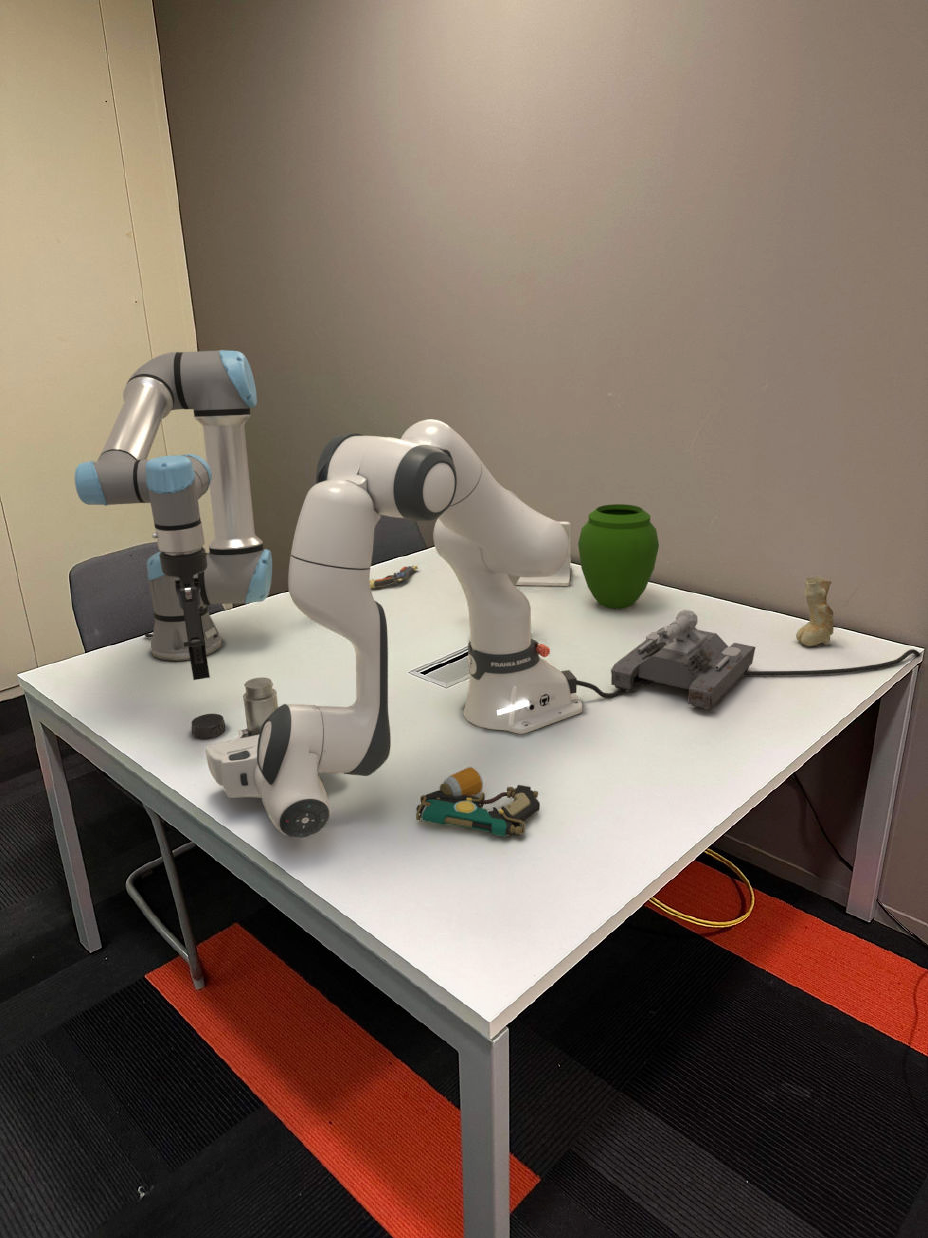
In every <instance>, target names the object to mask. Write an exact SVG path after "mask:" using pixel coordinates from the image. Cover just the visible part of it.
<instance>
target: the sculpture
mask: <svg viewBox="0 0 928 1238" xmlns="http://www.w3.org/2000/svg"><path fill="white" fill-rule="evenodd" d="M804 583H805V587H804V588H805V589H804V594H803V595H804V596H803V597H805V598H806V603H807V607H808V612H809V621H808V622H807V623H806V624H805V625H803V626H802V627H801V628H799V629H798V630H797V632H796V634H795V638H796V641H798V642H799V643H801V644H802V645H804V646H806V647H814V646H817V645H819V644H823V645H825V646H826V645H829V644H830V642H831V636H832V635H834V631H835V630H834V618H833V617H834V611H833V609H832V607H830V605H829V604H828V602H827V597H828V594H829V590H830V587H831V584H832V581H831V580H828V579H826V578H825V577H821V576H815V577H808V578H805V579H804Z"/></svg>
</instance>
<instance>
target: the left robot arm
mask: <svg viewBox="0 0 928 1238" xmlns="http://www.w3.org/2000/svg"><path fill="white" fill-rule="evenodd" d="M122 397H123V404H122V406H121V409H120V411H119V413H118V415H117V417H116V419H115V422H114V424H113V425H112V428H111V431H110V433H109V435H108V437H107V438H106V442H105V443H104V446H103V448H102V451H101V452H100V455H99V457H98V459H97V460H96V461H94V460H90V461H85V462H81V463H78V465H77V467H76V468H75V472H74V487H75V490H76V493H77V496H78V498H79V499H80V501H81V502H82V503H83V504H84V505H89V506H106V507H107V506H111V505H112V506H113V505H129V504H132V505H133V504H150V508H151V513H152V514H151V515H152V519H153V525H154V528H155V532H153V533H152V535H151V537H152V538H153V539H155V540H156V539H157V540H156V543H157V549H158V550H159V551H158V552H156V553H154V554H153V555H151V556H149V558H148V559H147V561H146V572H147V578H146V579H147V581H148V586H149V591H150V598H151V603H152V609H153V615H154V626H153V631H152V633H145V634H144V637H145V638H150V639H151V642H150V650H151V654H152V656H153V657H154V658H156V659H158V660H162V661H169V662H181V661H190V666H191V667H190V668H191V673H192V679H193V681H197V680H204V679H211V676H210V675H211V674H210V669H209V663H208V655H211V654H213V653H215V652H216V651H218V650H219V649H220V648H221V646H222V638H221V637H222V636H221V634H220V632H219V630H218V628H217V626H216V624H215V622H214V621H213V619H212V616H211V615H210V612H209V606H213V605H230V604H231V605H233V604H234V605H235V604H245V605H248V604H252V603H261V602H264V601H265V600H266V599H267V598H268V596H269V594H270V590H271V585H272V576H273V557H272V551H271V550H269V549H268V548H264V542H263V540H262V539H261V538H260V537H258V536H257V535H256V532H255V531H256V529H255V521H254V511H253V501H252V492H251V479H250V471H249V470H250V469H249V459H248V448H247V440H246V430H245V429H246V427H245V424H246V422H247V421H248V420H249V419H250V418H251V409H253V408H256V406H257V404H258V399H257V397H258V396H257V389H256V383H255V379H254V375H253V372H252V368H251V365H250V363H249V361H248V359H247V357H246V355H245V354H244V353H243V352H241V351H238V350H224V349H220V350H199V351H198V350H197V351H171V352H166V353H162V354H159V355H158V356H155V357H153V358H152V359H150V360H148V361H146V362H145V363H144V364H142V365H141V366H140V367H139V368H138V369H136V370H135V371H134V372H133V373H132V375H131V376H130V377H129V378H128V380H127V382H126V384H125V386H124V388H123V394H122ZM176 410H193V417H194V420H196V421H197V422H198V423H199V424H200V425H201V426H202V432H203V440H204V451H205V459H206V460H205V459H204V458H203V457H201V456H199V455H197V454H193V453H185V454H180V455H175V454H174V455H173V454H172V455H164V456H156V457H153V458H150V459H148V457H149V454H150V451H151V449H152V446H153V443H154V441H155V438H156V436H157V433H158V430H159V428H160V425H161V423H162V420H163V419H165V418H166V417H168V415H169V414H170V413H171V411H176ZM208 490H209V496H210V504H211V513H212V522H213V523H212V524H213V532H214V538H213V539H212V540H211V541H210V543H209V544H208V551H209V552H206V548H204V545H205V543H206V542H205V535H204V529H203V523H202V521H201V513H200V507H199V500H200V499H201V498H202V497H203V496H204V495H205V494H206V493H207V492H208Z"/></svg>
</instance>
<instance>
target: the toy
mask: <svg viewBox="0 0 928 1238" xmlns="http://www.w3.org/2000/svg"><path fill="white" fill-rule="evenodd" d="M697 625H698V616H697V614H696V613H695V612H694V611H693V610H690V609H683V610H681V611H679V612H678V613H677V615H676V617H675V620H673V622H671V623H670V624H669V625H668V626H666V628H665V627H661V628H660V629H658V630H657V631H652V632H650V633H649V634H648V635H647V636H645V640H643V641H642V642H641V643H640V644H638V645H637V646H636V647H635V648H633V649H632V650H631V651H630V652H628V653H627V654H625V655H624V656H623V657H621V658H620V659H619V660H618V661H617V662H615V663H614V664H613V666H612V667H611V669H610V674H611V677H610V678H611V680H610V681H611V682H610V683H611V684H610V685H611V686H614V688H615V689H618V690H620V689H624V690H626V692H630V693H634V692H635V691H637V690H638V689H640V687H641V686H642V685H641V683H642V681H643V680H649V681H654V683H658V684H663V685H667V686H671V687H675V688H679V689H684V690H688V699H687V700H688V701H687V704H688V705H691V706H693V707H696V708H700V709H704V710H708V711H712V710H713V709H714V708H715V707H716V706H717V705H718V704H719V703H720V701H721V700H723V698H724V697H725V696H726V695H727V694H728V693H729V692H730V691H731V690H732V689H733V688H734V687H735V686H736V685H737V684H738V682H739V681H740V680H741V679H742V678H743V677H745V676H744V674H745V671H749V669H750V667H751V665H752V664H753V662H754V657H755V652H756V646H754V645H748V644H743V643H738V642H733V643H732V644H731V645H730V646H729V645H728V644H727V643H726V642H725V641H724V640H723V639H722V637H721V636H720V635H718V634H717V632H711V631H706V630H702V629H698V628H696V626H697Z"/></svg>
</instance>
